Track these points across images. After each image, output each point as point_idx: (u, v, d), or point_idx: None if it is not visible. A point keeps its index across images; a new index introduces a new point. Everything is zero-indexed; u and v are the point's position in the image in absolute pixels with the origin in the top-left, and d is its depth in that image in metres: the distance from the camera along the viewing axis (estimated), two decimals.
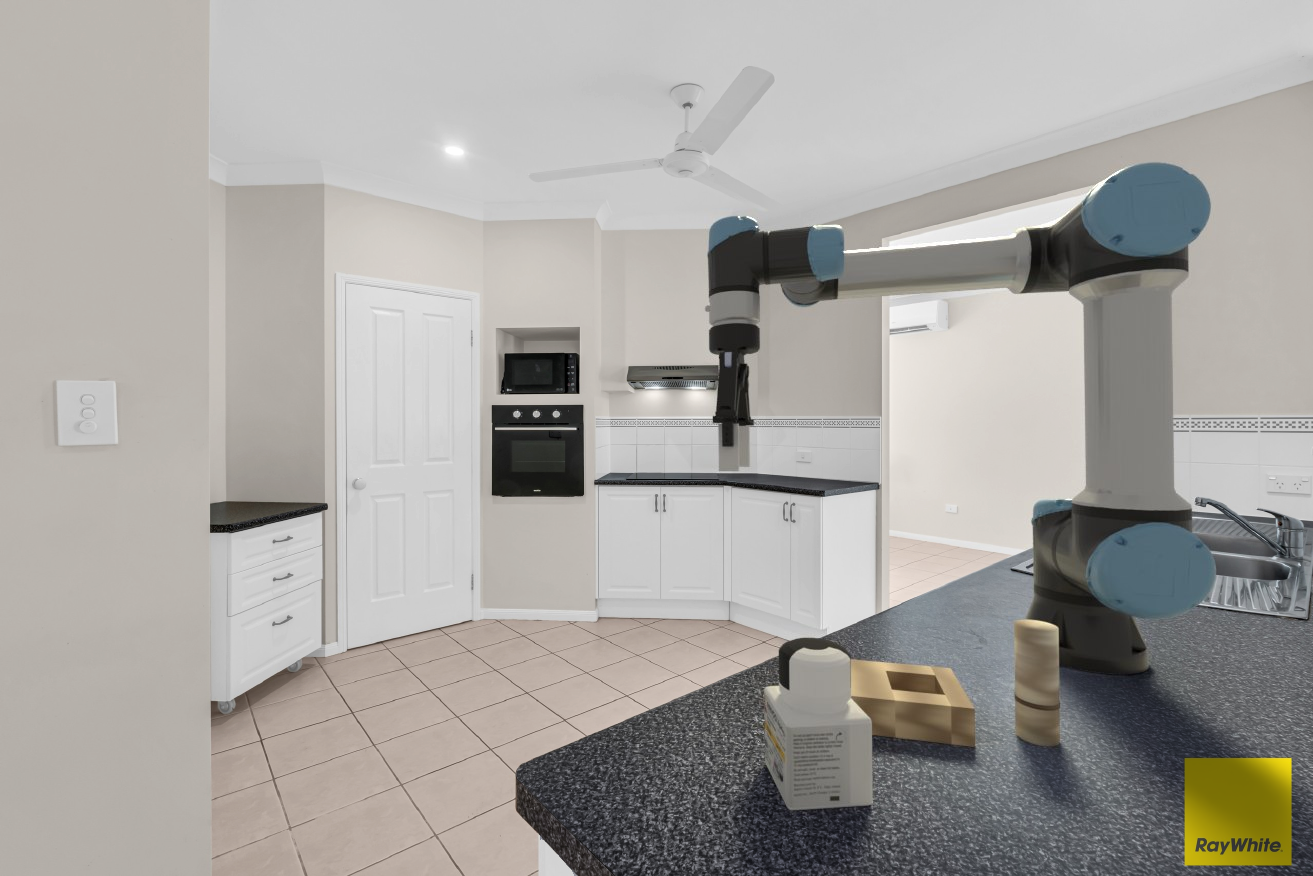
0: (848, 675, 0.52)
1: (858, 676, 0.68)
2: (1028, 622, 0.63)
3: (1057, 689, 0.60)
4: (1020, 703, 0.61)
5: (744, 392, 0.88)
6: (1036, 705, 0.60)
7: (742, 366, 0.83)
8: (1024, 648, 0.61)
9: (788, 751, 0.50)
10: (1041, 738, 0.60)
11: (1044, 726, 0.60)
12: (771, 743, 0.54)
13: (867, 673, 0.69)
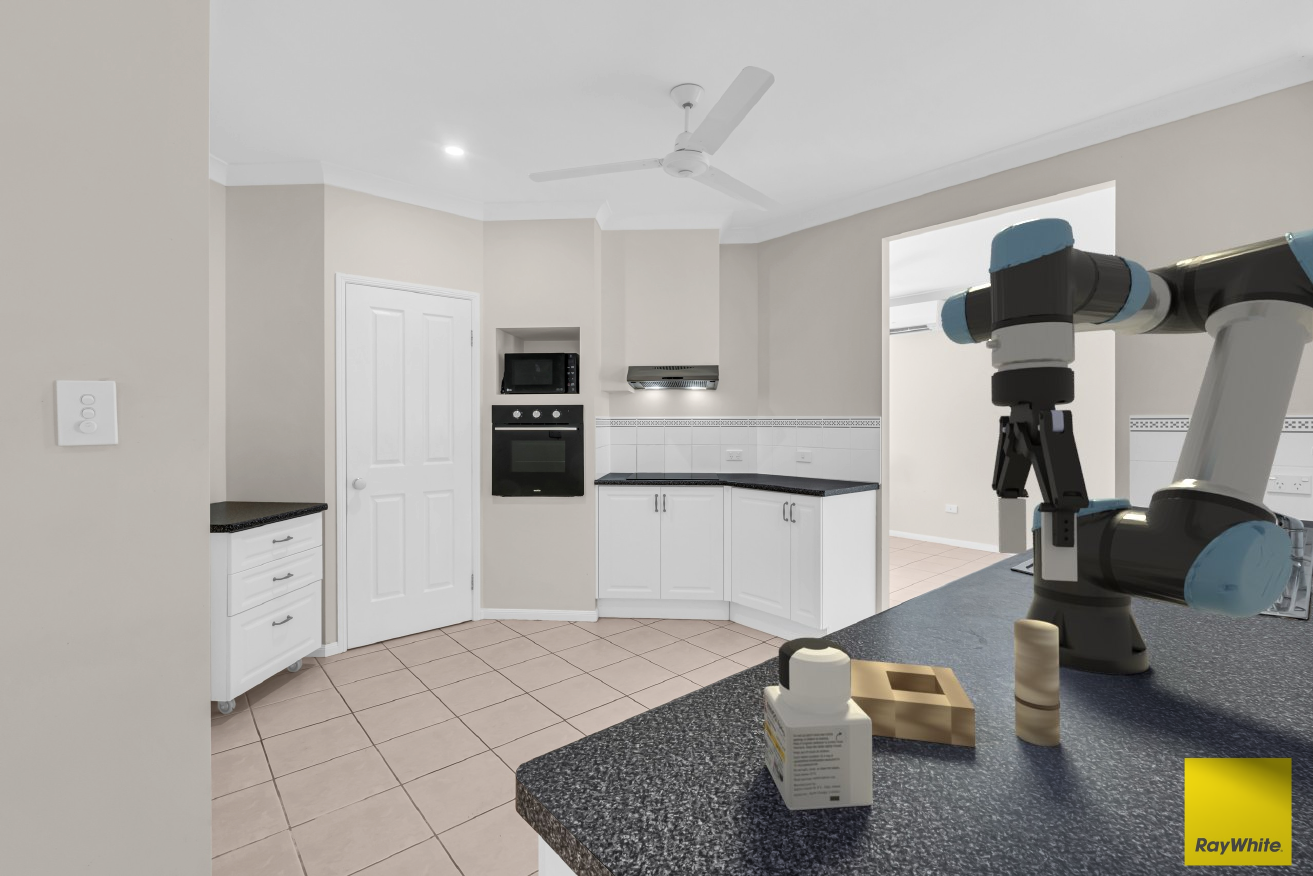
0: (848, 675, 0.52)
1: (858, 676, 0.68)
2: (1028, 622, 0.63)
3: (1057, 689, 0.60)
4: (1020, 703, 0.61)
5: None
6: (1036, 705, 0.60)
7: None
8: (1024, 648, 0.61)
9: (788, 751, 0.50)
10: (1041, 738, 0.60)
11: (1044, 726, 0.60)
12: (771, 743, 0.54)
13: (867, 673, 0.69)
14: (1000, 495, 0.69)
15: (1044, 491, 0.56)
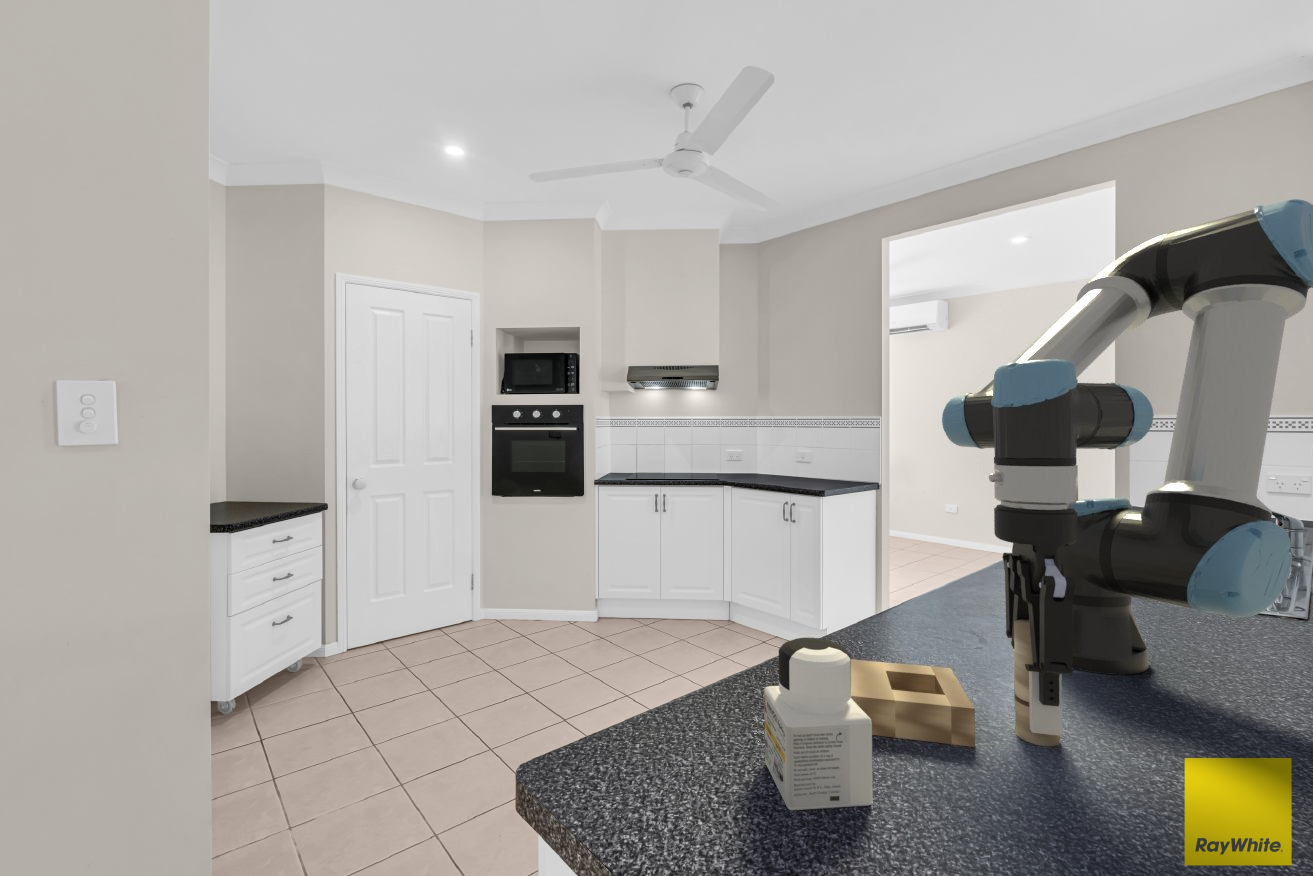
0: (848, 675, 0.52)
1: (858, 676, 0.68)
2: (1028, 622, 0.63)
3: None
4: (1020, 703, 0.61)
5: None
6: None
7: None
8: (1024, 648, 0.61)
9: (788, 751, 0.50)
10: (1041, 738, 0.60)
11: None
12: (771, 743, 0.54)
13: (867, 673, 0.69)
14: None
15: (1034, 649, 0.59)
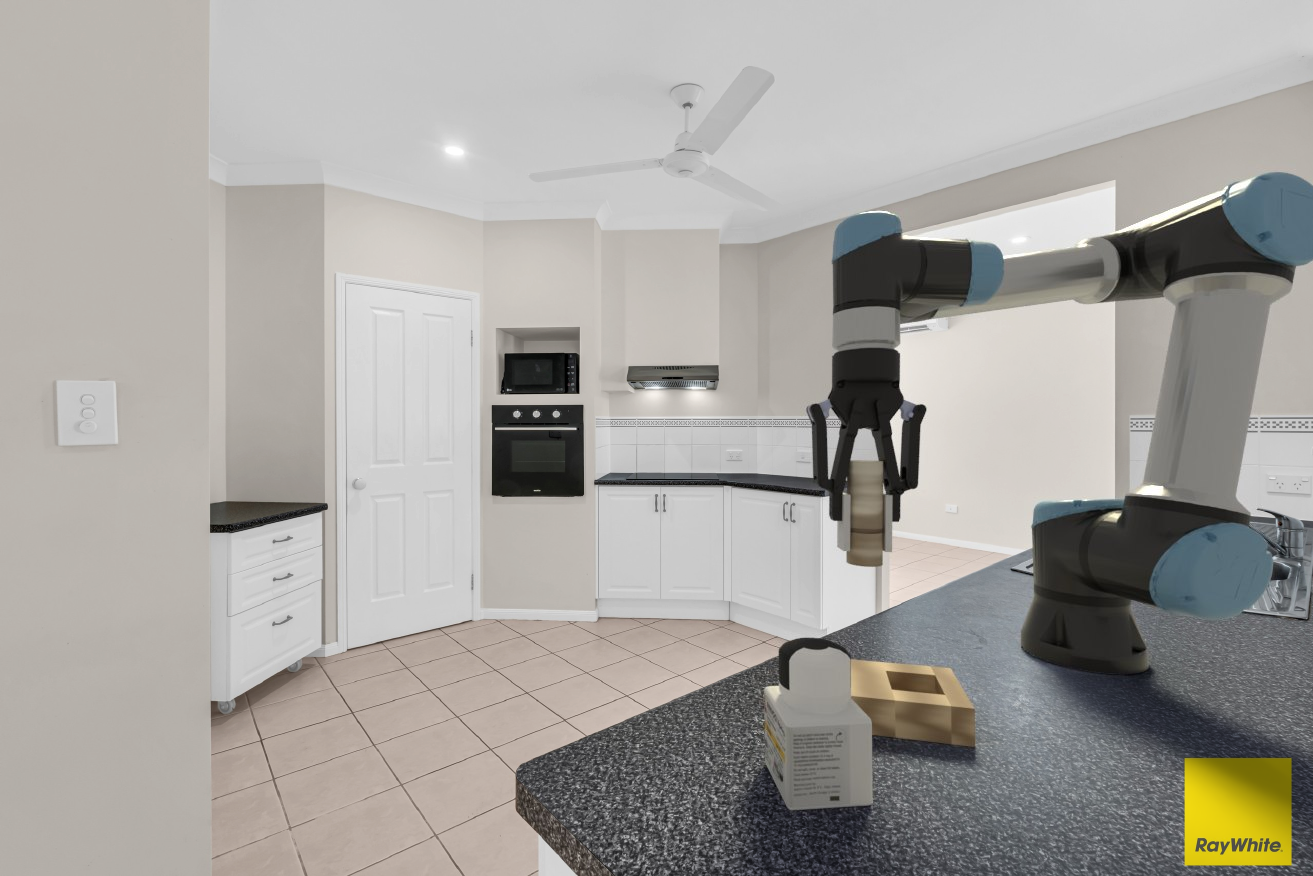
0: (848, 675, 0.52)
1: (858, 676, 0.68)
2: None
3: (857, 515, 0.66)
4: None
5: (880, 437, 0.66)
6: None
7: (851, 406, 0.66)
8: None
9: (788, 751, 0.50)
10: (846, 555, 0.67)
11: None
12: (771, 743, 0.54)
13: (867, 673, 0.69)
14: (884, 488, 0.68)
15: None
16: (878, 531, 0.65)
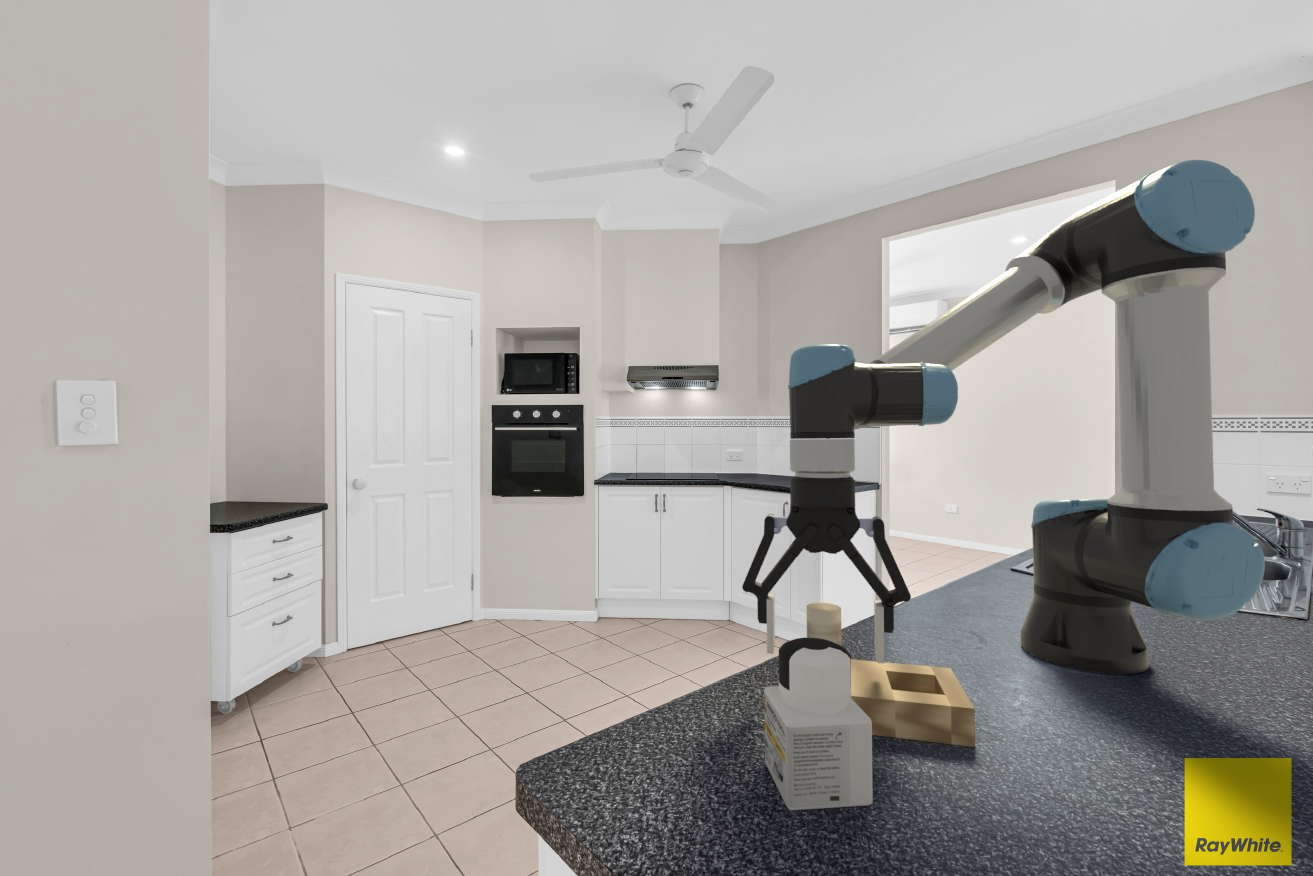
0: (848, 675, 0.52)
1: (858, 676, 0.68)
2: (830, 606, 0.69)
3: None
4: None
5: (849, 558, 0.67)
6: None
7: (805, 529, 0.68)
8: None
9: (788, 751, 0.50)
10: None
11: None
12: (771, 743, 0.54)
13: (867, 673, 0.69)
14: None
15: None
16: None
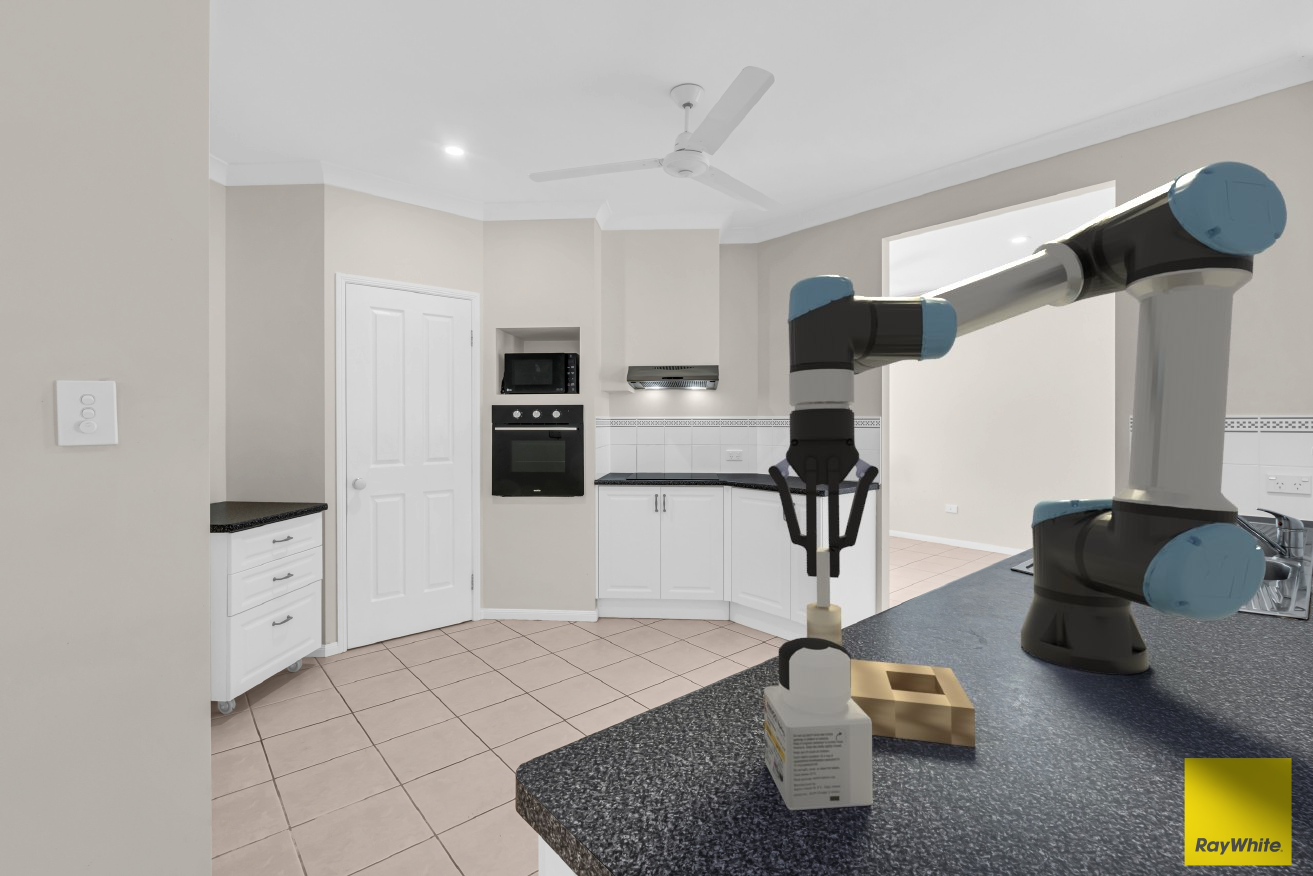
0: (848, 675, 0.52)
1: (858, 676, 0.68)
2: (831, 606, 0.69)
3: None
4: None
5: (828, 493, 0.68)
6: None
7: (805, 465, 0.68)
8: None
9: (788, 751, 0.50)
10: None
11: None
12: (771, 743, 0.54)
13: (867, 673, 0.69)
14: None
15: None
16: None
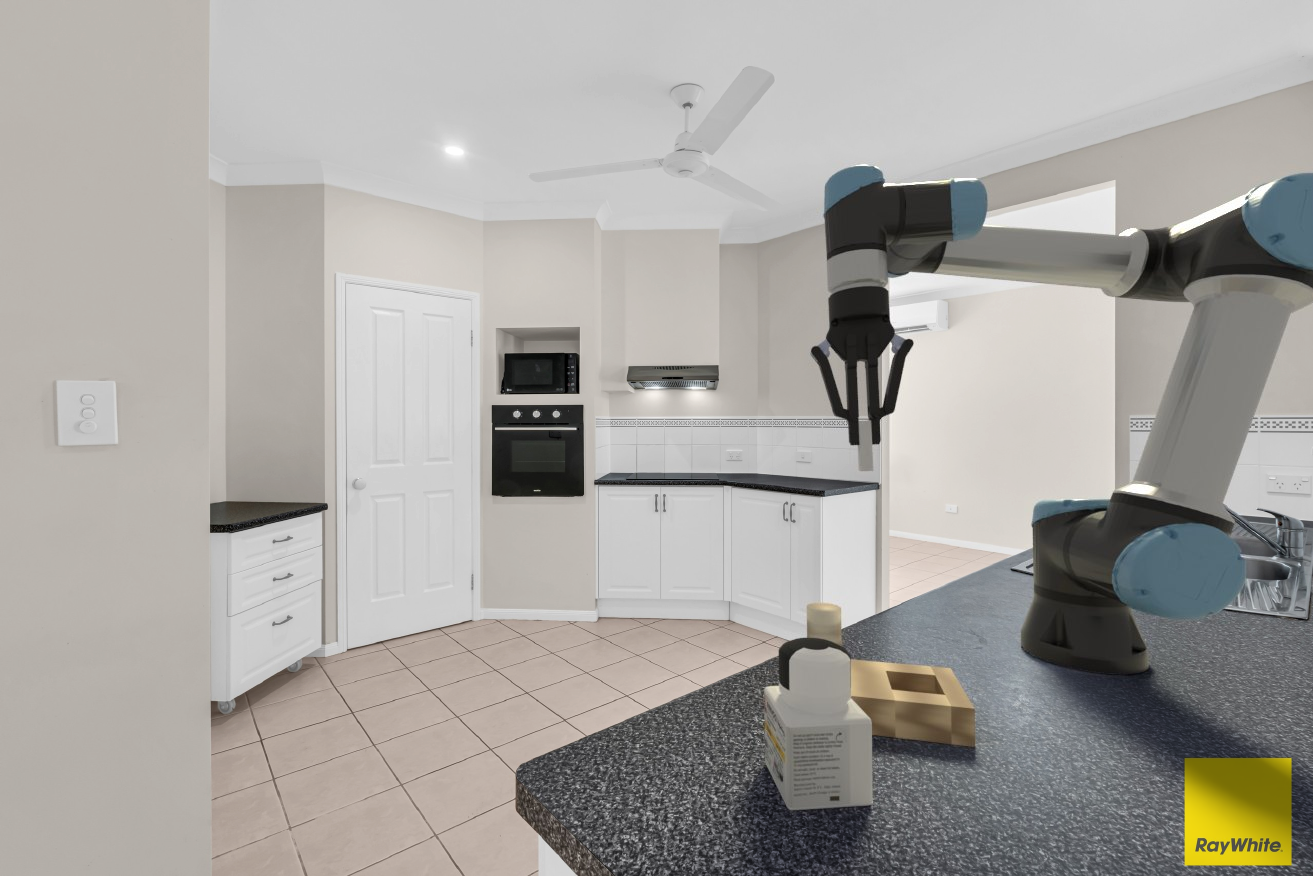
0: (848, 675, 0.52)
1: (858, 676, 0.68)
2: (831, 606, 0.69)
3: None
4: None
5: (867, 366, 0.74)
6: None
7: (846, 342, 0.74)
8: None
9: (788, 751, 0.50)
10: None
11: None
12: (771, 743, 0.54)
13: (867, 673, 0.69)
14: (868, 415, 0.76)
15: None
16: None
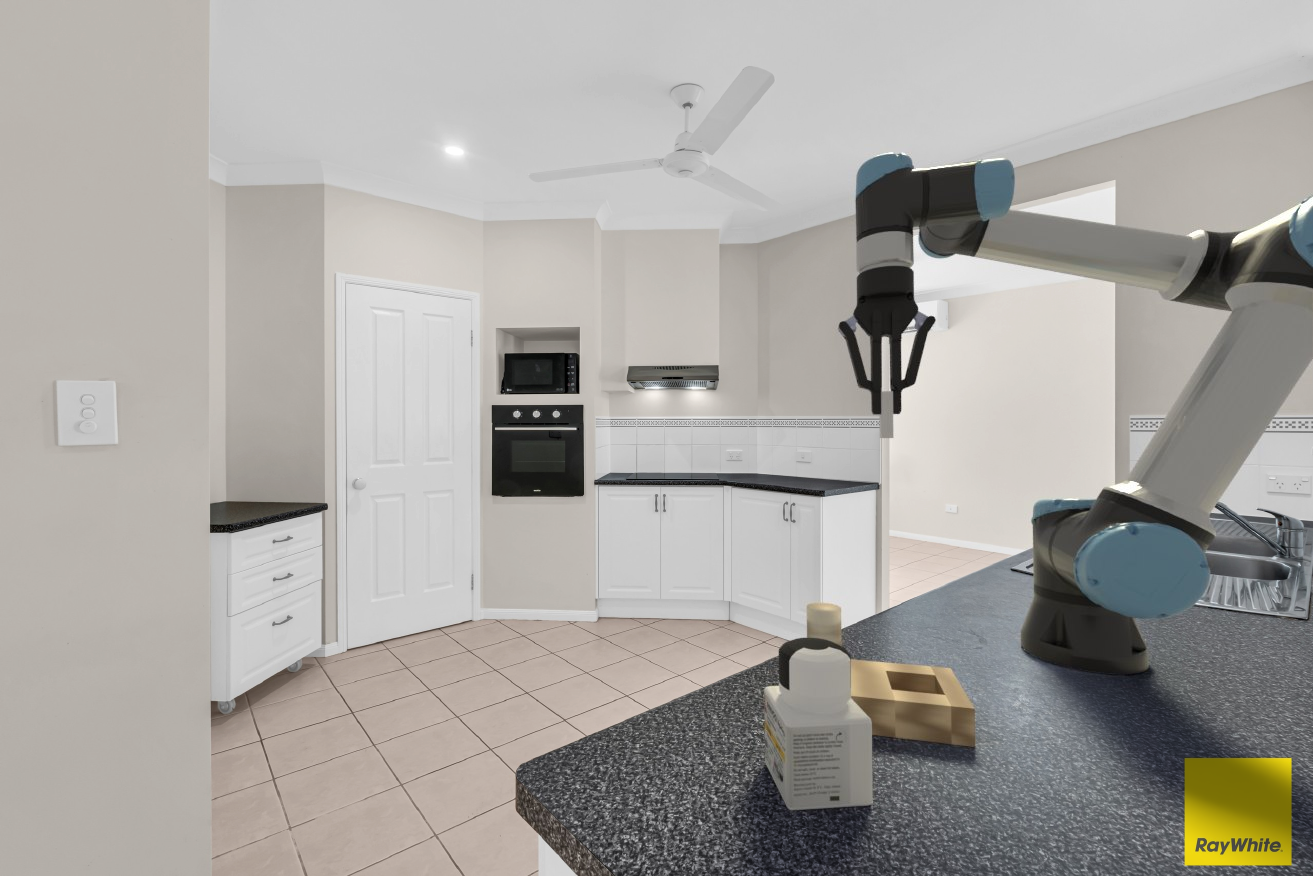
0: (848, 675, 0.52)
1: (858, 676, 0.68)
2: (831, 606, 0.69)
3: None
4: None
5: (891, 341, 0.80)
6: None
7: (872, 318, 0.80)
8: None
9: (788, 751, 0.50)
10: None
11: None
12: (771, 743, 0.54)
13: (867, 673, 0.69)
14: (890, 387, 0.82)
15: None
16: None
